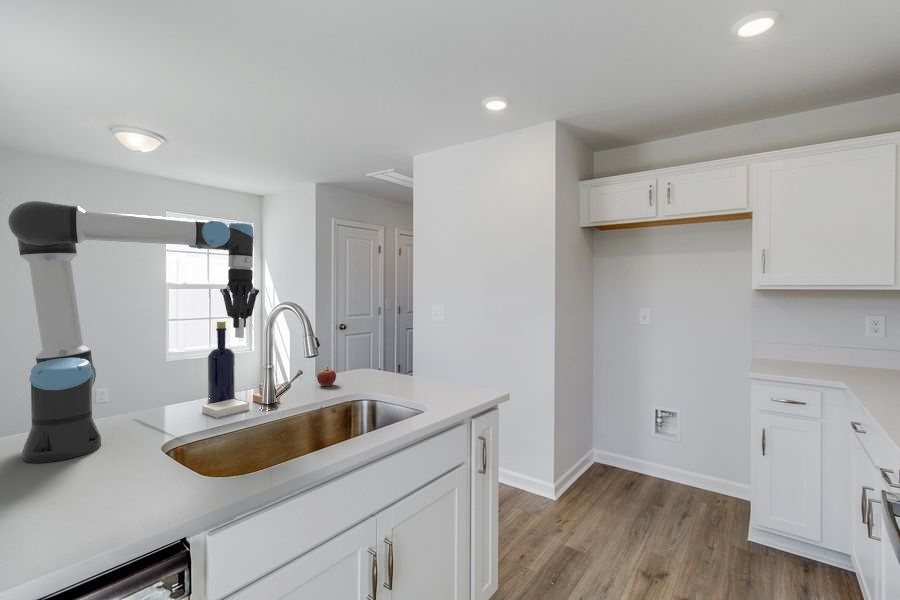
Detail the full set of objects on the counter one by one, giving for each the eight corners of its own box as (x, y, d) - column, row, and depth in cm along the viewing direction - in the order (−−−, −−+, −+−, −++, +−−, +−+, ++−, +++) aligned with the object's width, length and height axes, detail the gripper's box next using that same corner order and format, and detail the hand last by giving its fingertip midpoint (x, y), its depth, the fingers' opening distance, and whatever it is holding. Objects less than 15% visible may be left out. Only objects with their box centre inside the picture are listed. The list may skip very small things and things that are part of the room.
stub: (267, 405, 152) (267, 388, 152) (252, 401, 158) (252, 384, 157) (279, 402, 157) (279, 385, 156) (265, 398, 162) (265, 382, 161)
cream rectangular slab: (216, 417, 138) (216, 409, 138) (202, 412, 143) (202, 405, 143) (249, 409, 147) (249, 402, 147) (234, 405, 152) (234, 398, 152)
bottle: (241, 400, 163) (240, 320, 162) (226, 406, 154) (225, 322, 153) (218, 399, 164) (217, 320, 163) (201, 406, 155) (200, 322, 154)
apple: (337, 383, 192) (337, 365, 192) (334, 387, 184) (334, 369, 184) (319, 383, 192) (319, 365, 191) (315, 387, 184) (315, 369, 183)
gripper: (227, 267, 140) (226, 339, 141) (264, 269, 151) (263, 336, 152) (215, 267, 145) (214, 337, 145) (252, 269, 155) (251, 335, 156)
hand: (239, 337), depth 148 cm, fingers closed
